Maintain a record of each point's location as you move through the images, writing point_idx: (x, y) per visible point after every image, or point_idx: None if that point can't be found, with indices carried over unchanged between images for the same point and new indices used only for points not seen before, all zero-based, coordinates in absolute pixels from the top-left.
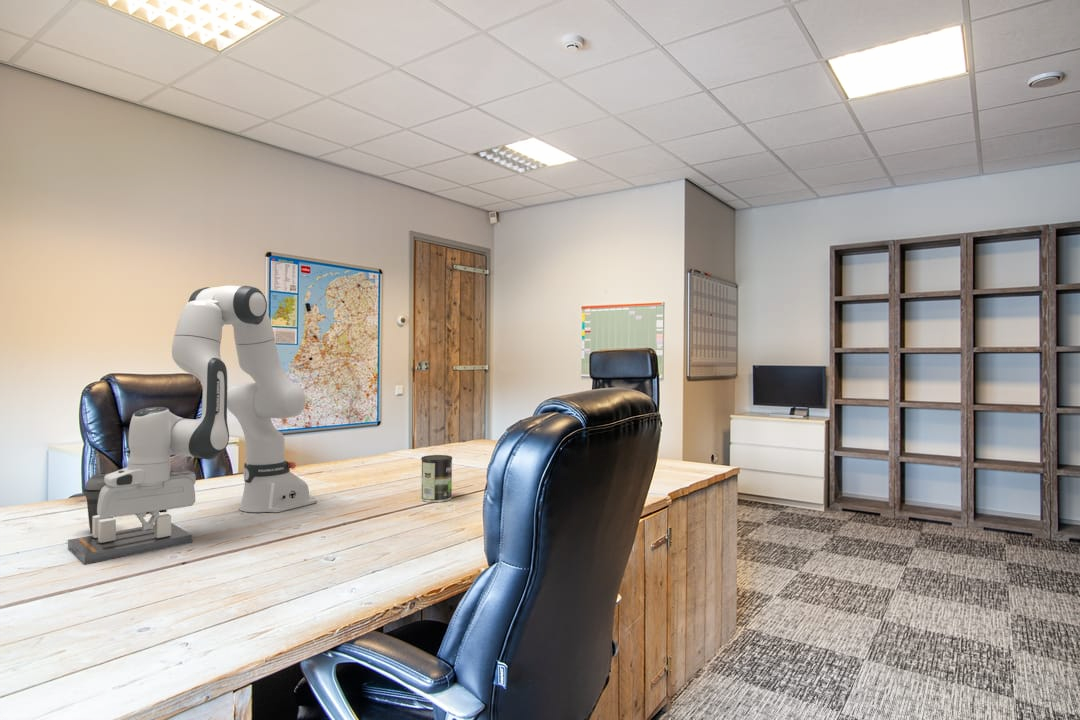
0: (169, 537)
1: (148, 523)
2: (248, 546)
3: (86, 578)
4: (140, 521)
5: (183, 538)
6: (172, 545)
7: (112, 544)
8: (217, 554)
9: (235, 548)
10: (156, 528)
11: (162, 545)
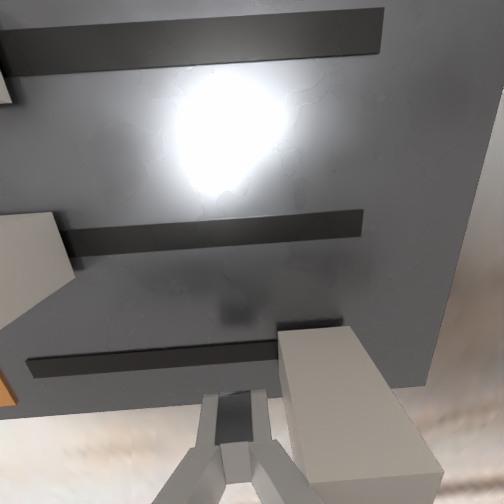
0: None
1: (235, 482)
2: (478, 481)
3: (47, 493)
4: (178, 471)
5: None
6: None
7: (70, 325)
8: None
9: (445, 478)
10: (287, 412)
11: None
